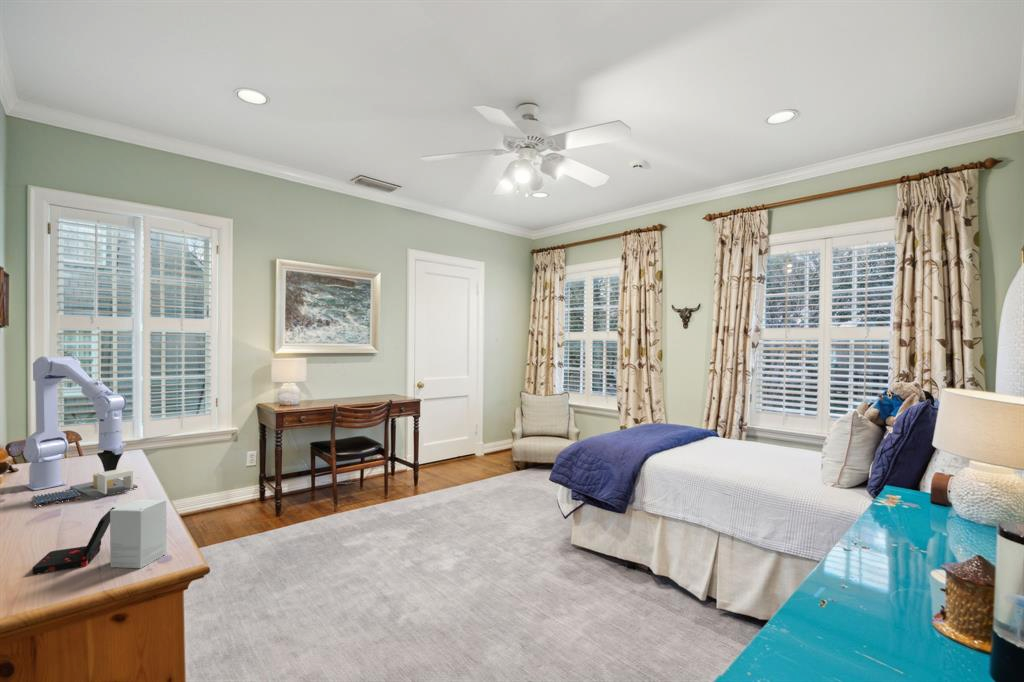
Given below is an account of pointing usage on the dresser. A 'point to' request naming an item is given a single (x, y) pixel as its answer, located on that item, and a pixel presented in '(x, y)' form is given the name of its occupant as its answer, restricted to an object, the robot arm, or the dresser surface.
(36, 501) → the woven mat
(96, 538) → the handheld gaming console
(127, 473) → the cover
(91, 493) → the puzzle board
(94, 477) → the ochre block
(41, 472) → the robot arm
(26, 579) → the dresser surface
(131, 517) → the supplement box
